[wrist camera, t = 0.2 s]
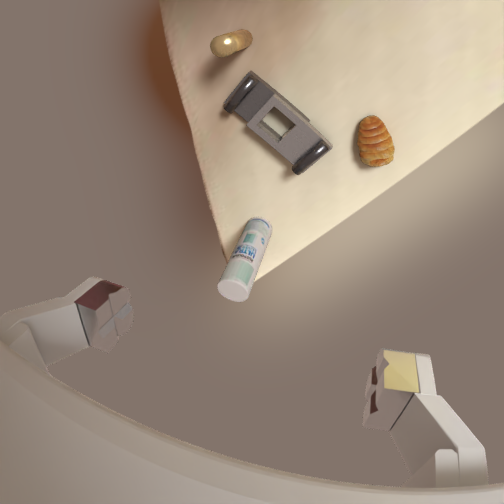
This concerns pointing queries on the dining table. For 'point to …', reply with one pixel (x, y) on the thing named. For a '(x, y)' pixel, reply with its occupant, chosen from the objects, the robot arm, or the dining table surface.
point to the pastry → (374, 142)
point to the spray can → (245, 260)
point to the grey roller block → (289, 145)
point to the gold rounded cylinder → (230, 43)
